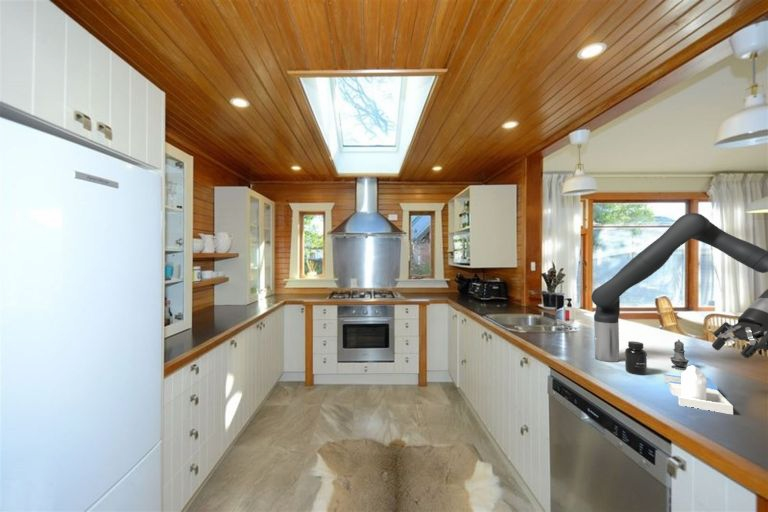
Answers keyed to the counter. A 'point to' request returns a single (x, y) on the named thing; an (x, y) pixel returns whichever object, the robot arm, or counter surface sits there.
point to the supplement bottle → (635, 358)
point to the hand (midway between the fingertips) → (728, 352)
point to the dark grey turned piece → (679, 356)
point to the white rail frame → (711, 395)
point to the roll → (693, 383)
